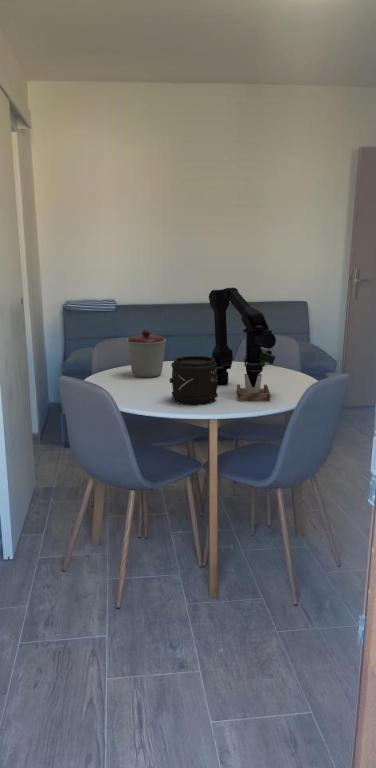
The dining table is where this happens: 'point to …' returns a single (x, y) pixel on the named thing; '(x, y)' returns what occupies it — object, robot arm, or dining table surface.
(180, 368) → the black ribbed pot
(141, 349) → the canister
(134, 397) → the dining table surface
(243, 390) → the tray
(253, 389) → the shot glass
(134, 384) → the dining table surface
